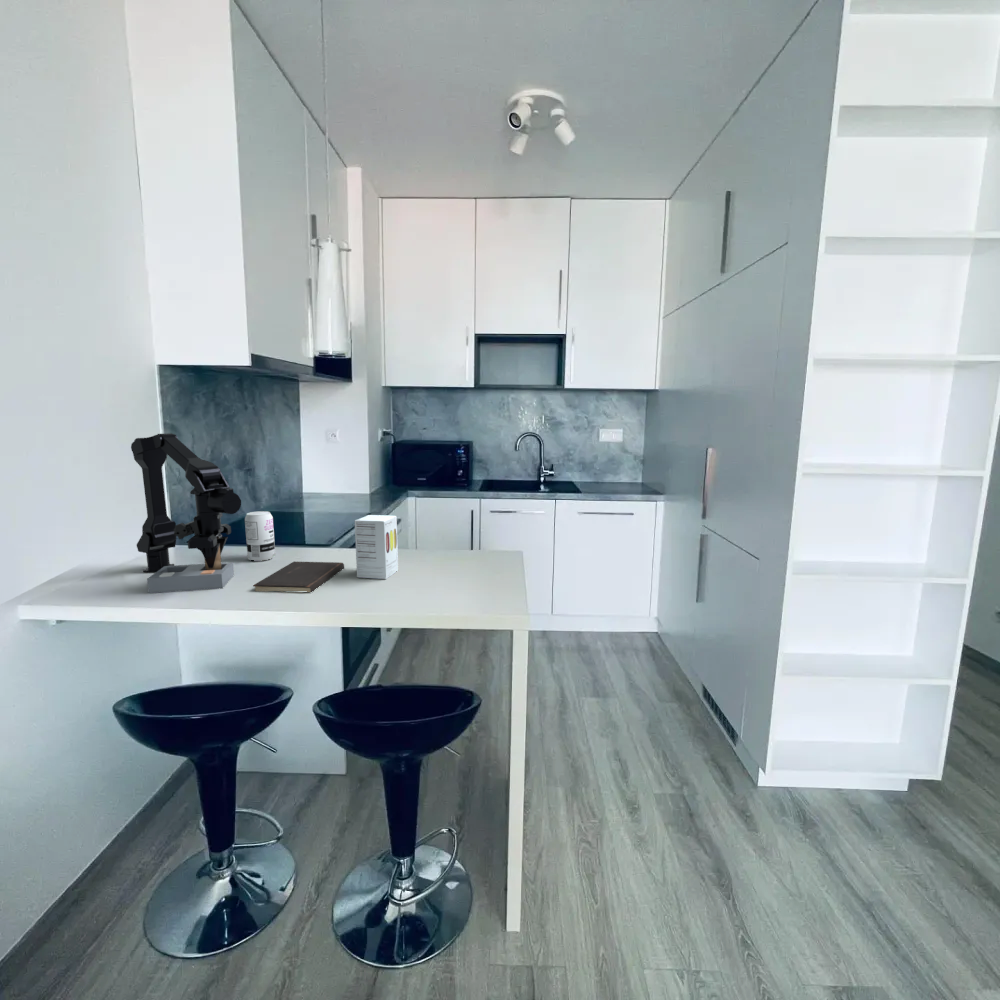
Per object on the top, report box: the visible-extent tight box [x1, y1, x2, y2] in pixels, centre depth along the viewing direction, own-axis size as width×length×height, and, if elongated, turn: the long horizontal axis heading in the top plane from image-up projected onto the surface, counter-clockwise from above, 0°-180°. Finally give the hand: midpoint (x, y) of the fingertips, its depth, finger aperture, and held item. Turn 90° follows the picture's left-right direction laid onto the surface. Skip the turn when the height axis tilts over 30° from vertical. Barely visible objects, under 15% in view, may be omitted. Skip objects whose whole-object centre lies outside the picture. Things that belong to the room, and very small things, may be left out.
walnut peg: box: [203, 546, 222, 570], centre depth 153 cm, size 4×4×8 cm
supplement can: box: [244, 510, 276, 562], centre depth 176 cm, size 8×8×15 cm
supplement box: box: [354, 514, 399, 580], centre depth 159 cm, size 10×9×17 cm
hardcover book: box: [252, 561, 345, 593], centre depth 156 cm, size 16×23×2 cm
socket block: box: [146, 561, 235, 594], centre depth 152 cm, size 12×18×4 cm, turn 102°
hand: (213, 565), depth 154 cm, fingers closed on walnut peg, 4 cm apart
